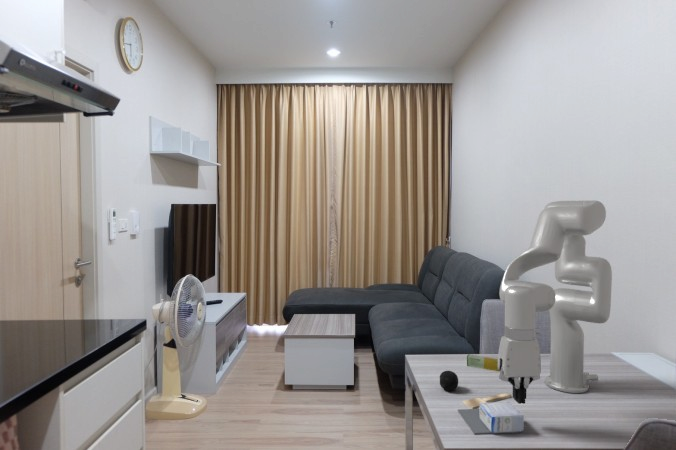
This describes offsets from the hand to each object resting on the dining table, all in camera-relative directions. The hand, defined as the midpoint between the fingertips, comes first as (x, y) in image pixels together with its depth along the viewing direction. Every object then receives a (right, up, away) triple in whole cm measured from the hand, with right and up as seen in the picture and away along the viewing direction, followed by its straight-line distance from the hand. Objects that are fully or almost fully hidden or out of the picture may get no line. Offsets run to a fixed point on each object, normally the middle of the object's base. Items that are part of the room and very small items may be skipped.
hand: (519, 401), depth 116 cm
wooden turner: (-3, -6, +15) cm, 17 cm away
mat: (-8, -7, +3) cm, 10 cm away
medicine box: (-1, -4, 0) cm, 4 cm away
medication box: (+5, -5, +42) cm, 43 cm away
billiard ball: (-13, -6, +23) cm, 27 cm away
